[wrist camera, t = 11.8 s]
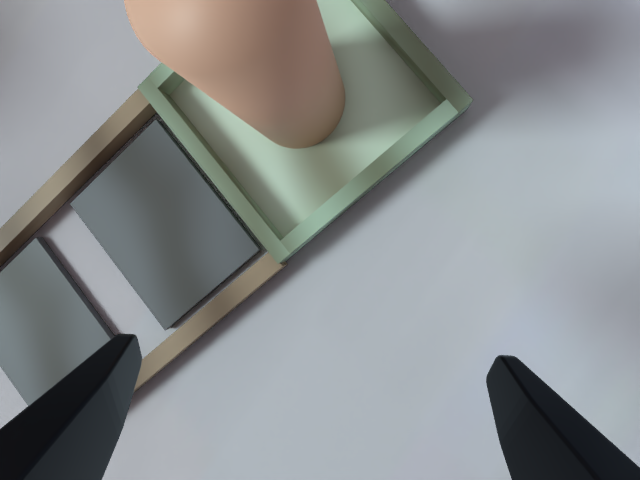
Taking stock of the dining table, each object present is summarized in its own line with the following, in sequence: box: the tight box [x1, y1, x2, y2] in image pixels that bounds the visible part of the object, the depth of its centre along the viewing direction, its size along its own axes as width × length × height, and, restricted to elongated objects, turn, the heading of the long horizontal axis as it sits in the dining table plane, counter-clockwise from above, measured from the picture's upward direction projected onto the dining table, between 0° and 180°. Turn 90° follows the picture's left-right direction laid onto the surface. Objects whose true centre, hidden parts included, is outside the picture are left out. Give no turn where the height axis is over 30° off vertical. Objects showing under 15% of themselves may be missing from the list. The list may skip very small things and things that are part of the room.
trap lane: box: [0, 0, 473, 406], centre depth 21 cm, size 36×12×1 cm, turn 130°
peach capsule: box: [124, 0, 345, 149], centre depth 15 cm, size 5×5×10 cm
